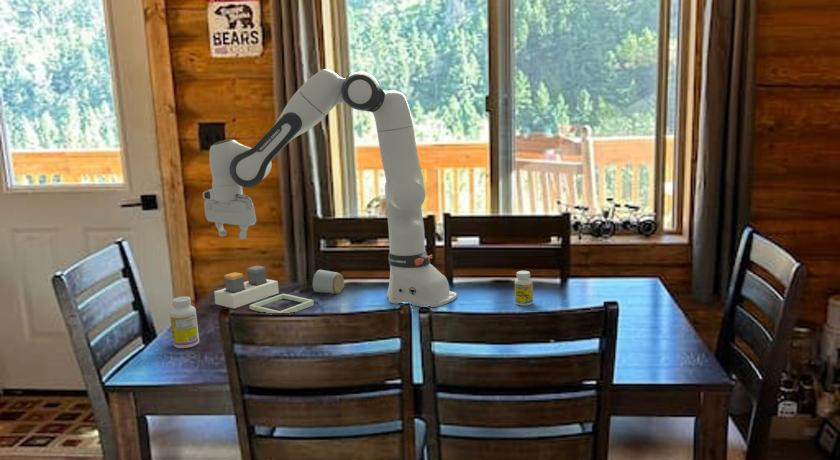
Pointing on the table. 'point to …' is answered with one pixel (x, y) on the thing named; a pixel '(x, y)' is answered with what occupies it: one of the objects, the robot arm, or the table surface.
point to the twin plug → (256, 275)
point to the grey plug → (234, 282)
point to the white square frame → (303, 305)
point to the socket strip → (246, 294)
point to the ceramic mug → (328, 282)
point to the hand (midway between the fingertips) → (232, 237)
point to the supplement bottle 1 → (184, 323)
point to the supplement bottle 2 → (523, 289)
